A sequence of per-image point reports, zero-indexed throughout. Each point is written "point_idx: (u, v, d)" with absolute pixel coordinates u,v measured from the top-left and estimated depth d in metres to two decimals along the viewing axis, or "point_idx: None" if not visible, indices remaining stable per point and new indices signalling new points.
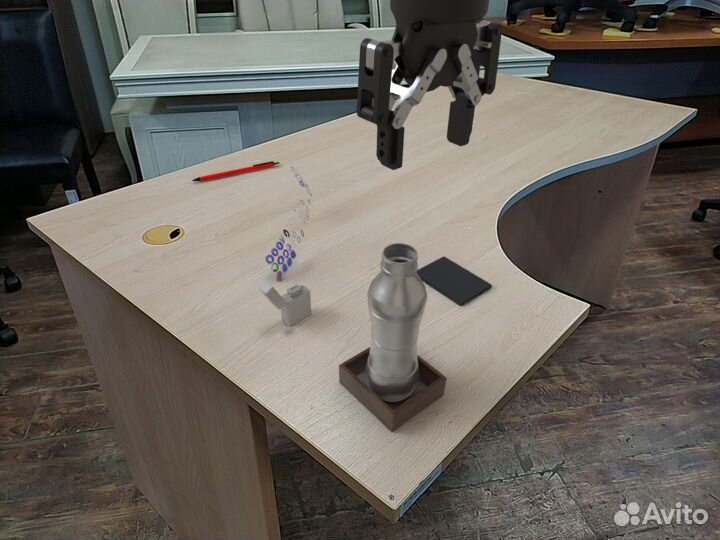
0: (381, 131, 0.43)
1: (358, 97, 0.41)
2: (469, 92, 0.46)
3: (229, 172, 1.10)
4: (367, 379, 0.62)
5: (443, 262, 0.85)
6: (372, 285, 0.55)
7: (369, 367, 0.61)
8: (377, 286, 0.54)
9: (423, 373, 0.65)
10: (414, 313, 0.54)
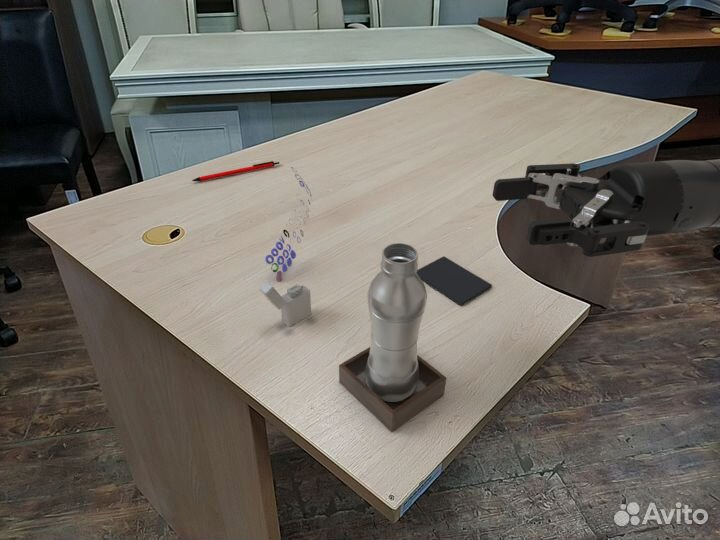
0: None
1: None
2: (580, 214, 0.49)
3: (229, 172, 1.10)
4: (367, 379, 0.62)
5: (443, 262, 0.85)
6: (372, 285, 0.55)
7: (369, 367, 0.61)
8: (377, 286, 0.54)
9: (423, 373, 0.65)
10: (414, 313, 0.54)
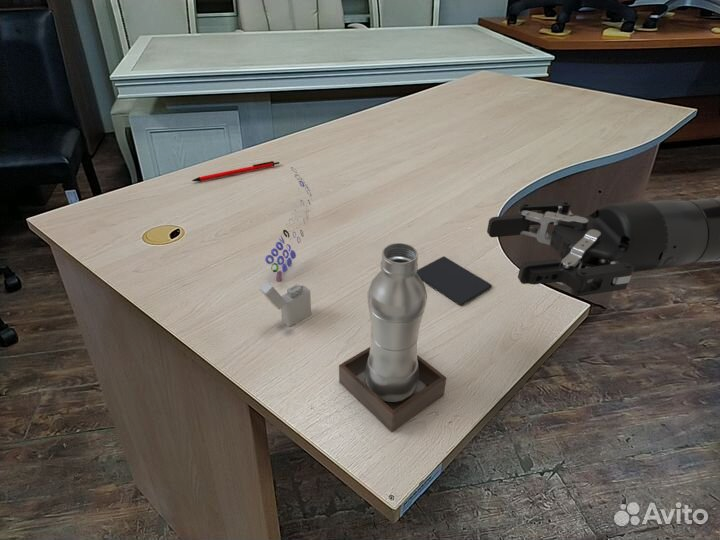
0: None
1: None
2: (569, 254, 0.52)
3: (229, 172, 1.10)
4: (367, 379, 0.62)
5: (443, 262, 0.85)
6: (372, 285, 0.55)
7: (369, 367, 0.61)
8: (377, 286, 0.54)
9: (423, 373, 0.65)
10: (414, 313, 0.54)
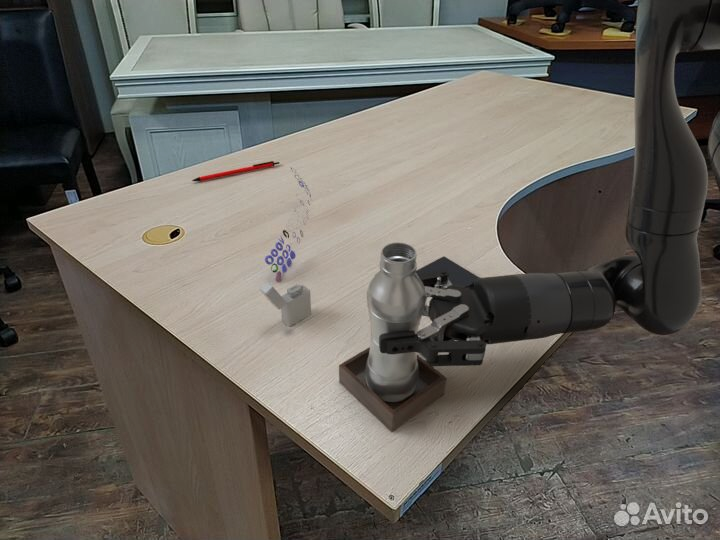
0: None
1: None
2: (429, 326, 0.55)
3: (229, 172, 1.10)
4: (367, 379, 0.62)
5: (443, 262, 0.85)
6: (371, 285, 0.55)
7: (369, 367, 0.61)
8: (376, 285, 0.54)
9: (423, 373, 0.65)
10: (413, 312, 0.54)
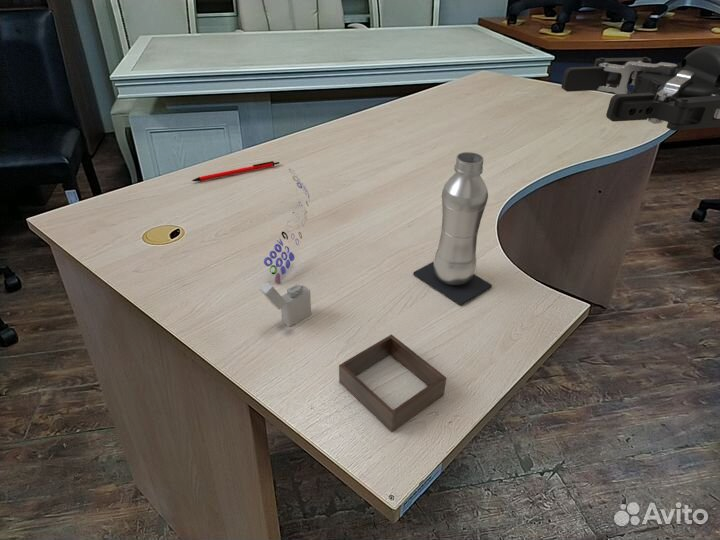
0: None
1: None
2: (663, 89, 0.47)
3: (229, 172, 1.10)
4: (436, 267, 0.79)
5: None
6: (447, 185, 0.72)
7: (439, 256, 0.78)
8: (451, 184, 0.71)
9: (423, 373, 0.65)
10: (479, 204, 0.71)
